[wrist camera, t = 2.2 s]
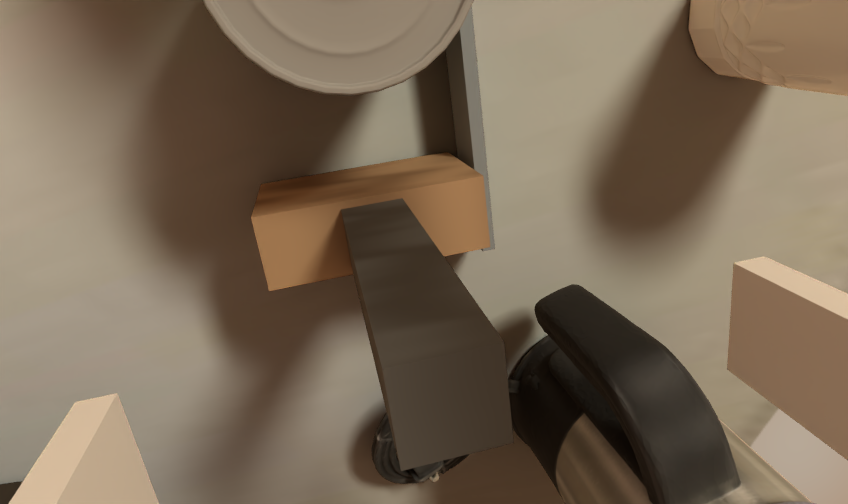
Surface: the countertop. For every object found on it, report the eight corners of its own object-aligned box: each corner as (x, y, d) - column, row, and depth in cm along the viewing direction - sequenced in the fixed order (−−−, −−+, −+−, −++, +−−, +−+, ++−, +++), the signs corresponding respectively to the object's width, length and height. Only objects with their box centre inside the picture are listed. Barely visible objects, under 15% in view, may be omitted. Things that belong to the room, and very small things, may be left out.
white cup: (682, -75, 28) (876, -141, 18) (825, -81, 29) (1074, -145, 20) (670, 95, 30) (834, 113, 21) (801, 83, 32) (1010, 95, 22)
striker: (275, 243, 28) (238, 524, 11) (261, 183, 27) (197, 395, 10) (454, 210, 29) (658, 417, 13) (447, 151, 28) (659, 293, 12)
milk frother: (673, 384, 37) (899, 584, 23) (487, 543, 38) (595, 824, 24) (546, 230, 31) (738, 369, 18) (334, 419, 32) (359, 688, 19)
